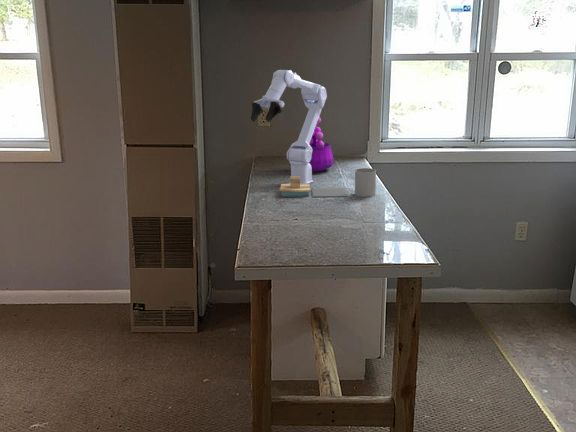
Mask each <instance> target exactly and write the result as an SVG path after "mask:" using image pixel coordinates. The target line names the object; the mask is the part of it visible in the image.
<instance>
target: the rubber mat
mask: <svg viewBox="0 0 576 432" xmlns="http://www.w3.org/2000/svg"><path fill="white" fill-rule="evenodd" d="M311 192H312V198H348V194H347V190H346V187H321V188H320V187H317V188H314V187H313V188H311Z"/></svg>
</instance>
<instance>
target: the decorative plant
mask: <svg viewBox="0 0 576 432" xmlns="http://www.w3.org/2000/svg"><path fill="white" fill-rule="evenodd" d="M321 122H322V119H321V117H320V116H319V118H318V121H317V124H316V127H315V129H314V132H313V135H312V138H311V140H310V143H309V145H310V146H311V147H312V150H313V151H312V157H311V160H310V162H309V164H310V165H311V167H312V172H319V171H321V172H322V171H325V170H328V169H329V168H331V167H333V165H334V156H333V151H332V145H331V144H330V143H327V142H324V141H323V140H322V139H323V138H324V134H323V132H322V130H321V127H319V126H317V125H318V124H320V123H321Z"/></svg>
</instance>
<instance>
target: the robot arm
mask: <svg viewBox="0 0 576 432" xmlns="http://www.w3.org/2000/svg"><path fill="white" fill-rule="evenodd" d="M300 76H301V75H298V74H297V72H293V71H292V69H289V70H288V69H278V70H276V71H274V72H273V75H272V79H271V82H270V83H271V84H270V86H269V88H268V90H267V91H266V93H265V95H262V96H261V97H262V98H260V99H258V100H254V101H253V102H252V104H251V108H252V110H251V115H250V120H251V122H254V123H255V122H256V121H257V120H258V117H259V116H260V115H261V114H262V113H263V112H264V110H263V108H265V109H268V111H267V113H266V115H265V120H266V121H267V122H268V123H270V122H271V121H272V120H273V119H274V118H275V117H276V116H277V115H279V114H281V113H282V109H281V108H284V107H285V102H284V101H283V100H280V99H281V97H282V95H283V93H284V92H285V90H286V88H287V87H288V88H290V89H291V88H292V89H297V88H299V89H301V97H302V100H303V103H304V106H305V107H306V108H307V109H308V112H307V114H306V116H305V120H304V121H303V125H302V127H301V131H300V133H299V136H298V138H297V140H296V141H295V142H293V143H291V144H290V147H289V148H288V150H287V151H286V159H287V160H288V161H289V164H290V174H291V175H290V176H300V183H310V184H312V183H314V180H313V177H312V176H313V171H312V167H311V165H310V164H309V162H310V160H311V157H312V151H313V150H312V147H311V146H310V145H309V143H310V140H311V138H312V135H313V132H314V129H315V127H317V125H318V124H317V121H318V118H319V117H320V115H321V113H322V109H323V108H324V106H325V103H326V100H327V98H328V94H327V89H326V87H324V86H322V85H321V84H318V83H316V82H315V83H314V82H311V81H309V80H304V79H302V78H301V77H300ZM316 124H317V125H316ZM286 184H290V181H289V182H287V183H286Z"/></svg>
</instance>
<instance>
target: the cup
mask: <svg viewBox="0 0 576 432" xmlns="http://www.w3.org/2000/svg"><path fill="white" fill-rule="evenodd" d="M354 178H355V179H354V195H355V196H356V197H363V198H364V197H365V198H367V197H368V198H369V196H370V197H374V196H376V187H377V186H376V183H377V169H375V168H370V167H369V168H368V167H362V168H356V169H355V170H354Z"/></svg>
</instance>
